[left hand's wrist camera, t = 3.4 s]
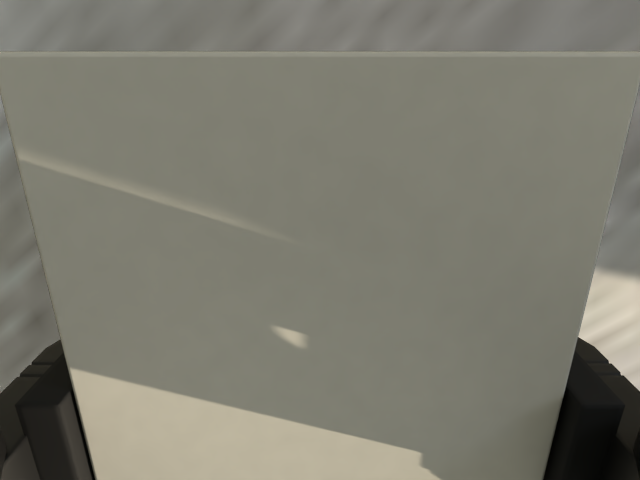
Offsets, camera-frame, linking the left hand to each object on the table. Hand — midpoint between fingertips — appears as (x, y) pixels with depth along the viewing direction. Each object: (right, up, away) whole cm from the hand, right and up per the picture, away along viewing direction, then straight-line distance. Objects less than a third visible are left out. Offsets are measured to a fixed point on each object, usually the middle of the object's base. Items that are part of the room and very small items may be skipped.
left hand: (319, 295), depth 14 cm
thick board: (0, -28, +11) cm, 30 cm away
